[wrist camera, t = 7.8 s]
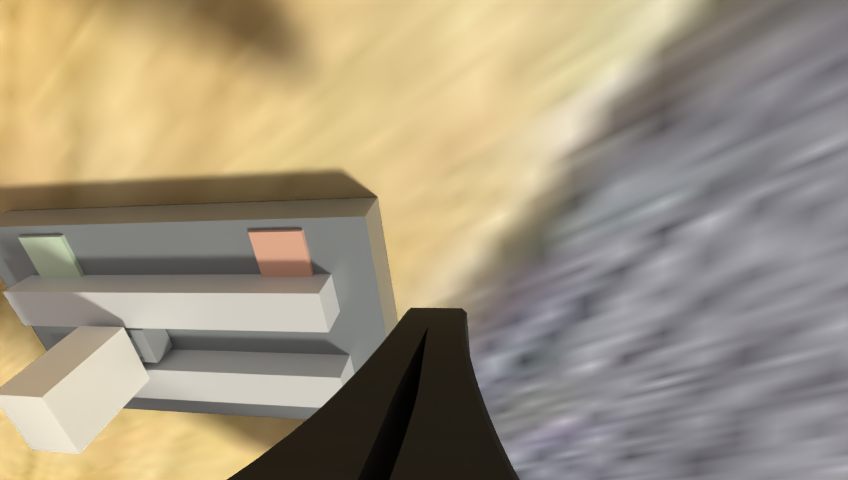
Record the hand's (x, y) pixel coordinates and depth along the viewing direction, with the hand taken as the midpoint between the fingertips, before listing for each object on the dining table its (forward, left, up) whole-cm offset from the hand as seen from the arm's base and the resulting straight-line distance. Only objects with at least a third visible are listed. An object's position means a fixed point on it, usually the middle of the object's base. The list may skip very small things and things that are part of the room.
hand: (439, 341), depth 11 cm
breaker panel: (-6, +14, -9) cm, 18 cm away
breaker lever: (-6, +17, -7) cm, 19 cm away
